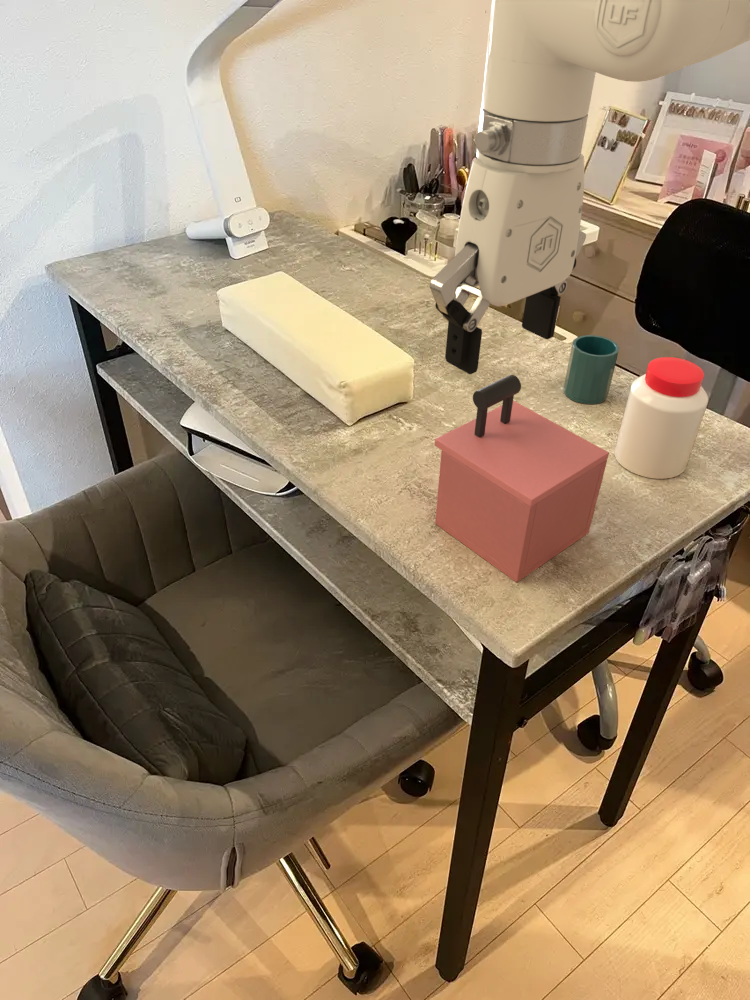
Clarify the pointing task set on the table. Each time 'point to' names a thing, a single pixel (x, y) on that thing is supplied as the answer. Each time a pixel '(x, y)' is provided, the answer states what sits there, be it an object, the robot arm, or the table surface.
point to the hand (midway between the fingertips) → (500, 349)
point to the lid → (519, 446)
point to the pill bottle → (662, 419)
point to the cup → (590, 369)
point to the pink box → (513, 517)
